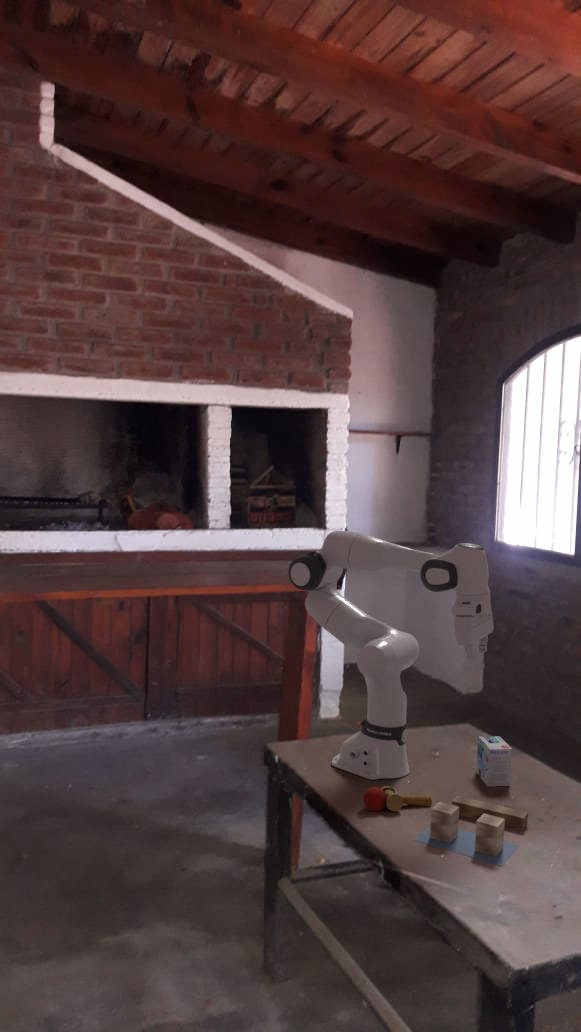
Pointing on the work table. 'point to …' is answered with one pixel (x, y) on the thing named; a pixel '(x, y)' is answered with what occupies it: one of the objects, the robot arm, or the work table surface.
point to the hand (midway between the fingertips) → (477, 655)
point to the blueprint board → (468, 846)
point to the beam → (491, 812)
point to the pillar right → (489, 834)
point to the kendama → (391, 799)
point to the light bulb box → (494, 761)
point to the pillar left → (444, 822)
